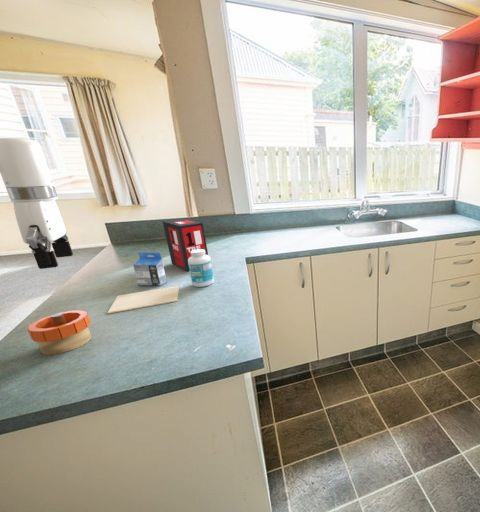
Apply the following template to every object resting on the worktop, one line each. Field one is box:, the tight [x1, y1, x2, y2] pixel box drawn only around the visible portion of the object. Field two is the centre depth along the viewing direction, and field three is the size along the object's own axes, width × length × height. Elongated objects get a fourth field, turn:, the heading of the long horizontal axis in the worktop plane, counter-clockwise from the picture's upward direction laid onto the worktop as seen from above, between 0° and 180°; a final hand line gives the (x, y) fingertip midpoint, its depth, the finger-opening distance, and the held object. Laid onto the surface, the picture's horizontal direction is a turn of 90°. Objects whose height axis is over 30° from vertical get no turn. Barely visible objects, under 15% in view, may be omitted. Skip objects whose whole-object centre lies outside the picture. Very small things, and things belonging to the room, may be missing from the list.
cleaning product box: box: [162, 217, 209, 272], centre depth 132 cm, size 16×9×20 cm, turn 56°
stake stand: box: [36, 312, 92, 356], centre depth 76 cm, size 9×9×8 cm
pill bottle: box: [188, 249, 215, 288], centre depth 113 cm, size 8×7×14 cm
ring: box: [26, 310, 92, 343], centre depth 76 cm, size 10×10×3 cm
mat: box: [106, 285, 180, 315], centre depth 102 cm, size 18×14×1 cm
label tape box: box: [133, 251, 168, 286], centre depth 112 cm, size 9×4×12 cm, turn 89°
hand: (57, 261), depth 75 cm, fingers open, 9 cm apart
